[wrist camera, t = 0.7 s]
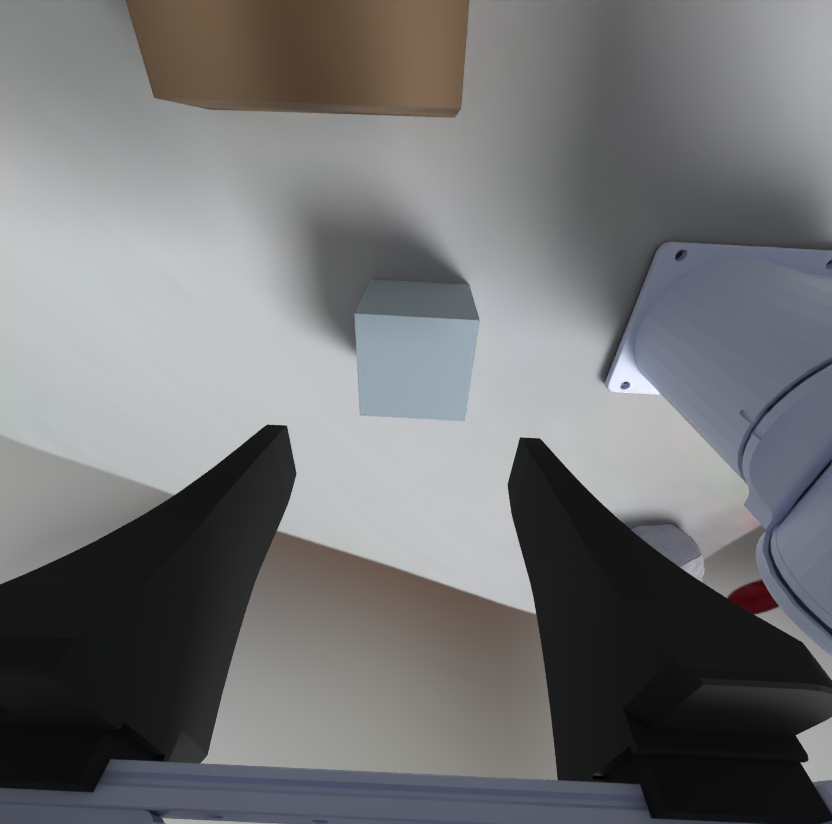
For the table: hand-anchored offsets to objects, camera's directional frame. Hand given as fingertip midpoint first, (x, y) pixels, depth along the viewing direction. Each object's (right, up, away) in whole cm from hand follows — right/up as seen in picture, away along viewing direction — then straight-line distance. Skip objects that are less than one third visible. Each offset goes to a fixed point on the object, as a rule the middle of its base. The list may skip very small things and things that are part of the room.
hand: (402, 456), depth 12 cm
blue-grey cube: (+1, +6, +9) cm, 11 cm away
